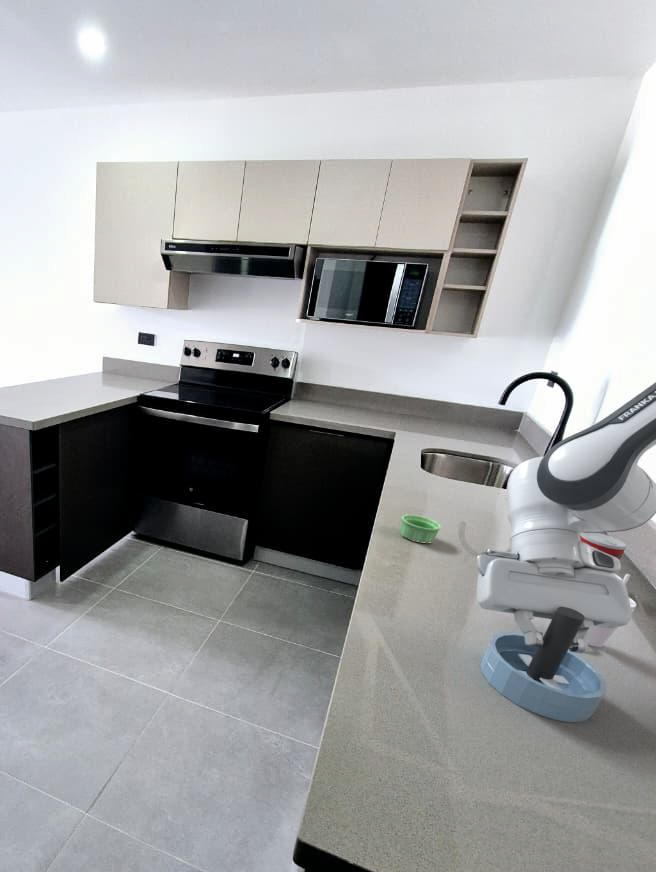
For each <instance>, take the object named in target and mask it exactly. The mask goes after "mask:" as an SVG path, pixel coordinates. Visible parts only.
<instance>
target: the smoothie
mask: <svg viewBox="0 0 656 872" xmlns="http://www.w3.org/2000/svg"><path fill="white" fill-rule="evenodd" d="M630 577H631V574H630V573H626V574H625V575H624V577H623V579H622V580H623V582H624V583H625V585H627V583H628V581H629V579H630ZM629 600H630V605H631V612H634V611H636V610H635V609H636V608H637V603H636V601H634V600H633V599H632V598H631V597H629ZM618 628H619V627H615V628H604V627H598V626H594V631H593V632H592V634H591V636H590V638H589V639H588V646H591V647H595V648H602V647H603V646H604V645H605V644H606V643H607V641H608V640H609V639H610V637H611V636H612V635H613V634H614V633H615V632H616V630H617V629H618Z"/></svg>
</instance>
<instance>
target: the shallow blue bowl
mask: <svg viewBox="0 0 656 872" xmlns="http://www.w3.org/2000/svg"><path fill="white" fill-rule="evenodd" d="M537 648H538V646H530V645H526V644H525V638H524V633H519V632H500V633H497V634H495V635H493V636H492V637H491V639H490V641H489V643H488V646H487V648H486V649H485V652H484V654H483V657H482V659H481V661H480V663H479V667H480V671H481V674H482V676H483V677H484V678H485V680H486V681H487V683H488V684H489V685H490V686H491V687H492V688H494V690H496V691H497V692H498V693H499V694H500V695H501V696H503V697H505V699H508V700H509V701H511V702H512V703H514V704H515V705H517V706H519V707H521V708H523V709H525V710H526V711H529V712H531V713H533V714H536V715H539V716H542V717H545V718H548V719H551V720H553V721H559V722H566V723H582V722H586V721H587V720H588V719H590V718H592V717H593V715H594V713H595V711H596V710H597V709H598V707H599V705H600V703H602V702H601V701H602V700H603V698H604V696H605V695H606V693H607V686H608V685H607V682H606V681H605V679H604V677H603V676H602V674H601V673H600V672H599V671H598V670H597V669H596V668H595V667H594V666H592V664H590V663H589V662H587V661H586V660H585V659H583V658H582V657H580V656H579V655H577V653H575V652H571V651H570V650H568V651H567V653H566V655H565V657H564V659H563V661H562V663H561V664H560V666H559V668H558V670H557V672H556V674H555V675H559V676H563V677H564V678H565V679H566V680H567V681H568V682H569V683H570V686H569V685H561V684H558V686H559V687H560V688H561V689H562V690H563V691H561V690H558V689H555V688H552V687H549V686H546V685H544V684H542V683H540V682H537V681H535V680H533V679H531V678H529V677H528V676H526V675H524V674H523V673H521V672H519V671H522V670H527V668H528V666H527V665H526V664H525V663H524V662H523V660H522V659H521V658H520V657H519V656H518V654H525V655H530V656H531V657H532V658H533V656H534V654H535V652H536V650H537ZM518 670H519V671H518Z"/></svg>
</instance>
